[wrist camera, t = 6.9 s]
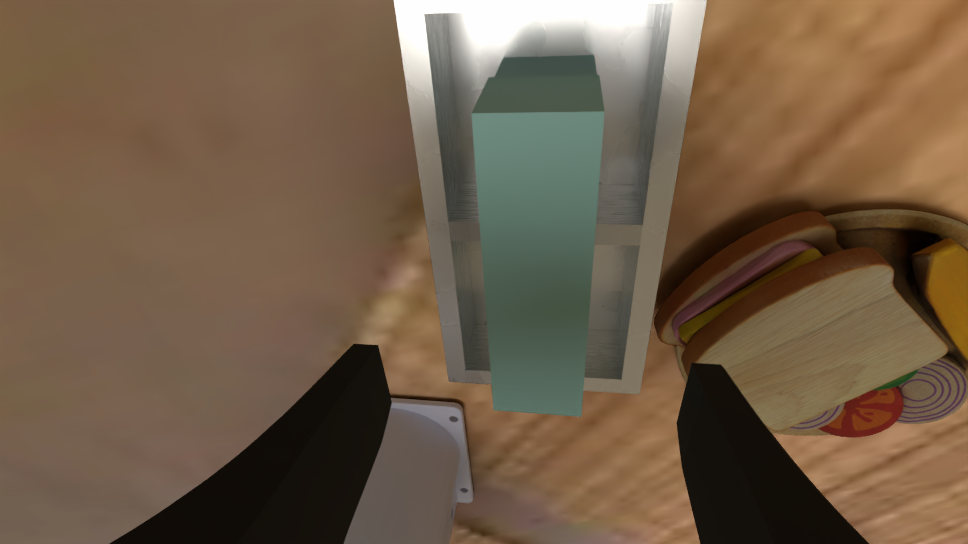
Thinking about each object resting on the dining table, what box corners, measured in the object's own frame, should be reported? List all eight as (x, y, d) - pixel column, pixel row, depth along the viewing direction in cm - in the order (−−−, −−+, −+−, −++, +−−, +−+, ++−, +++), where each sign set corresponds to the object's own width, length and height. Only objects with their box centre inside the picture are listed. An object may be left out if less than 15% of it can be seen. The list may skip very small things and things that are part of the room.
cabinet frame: (631, 336, 24) (639, 394, 21) (462, 328, 25) (448, 381, 23) (687, -48, 15) (712, -36, 12) (422, -33, 16) (390, -18, 14)
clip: (579, 297, 23) (581, 416, 17) (511, 294, 23) (493, 410, 18) (595, 45, 17) (604, 111, 11) (502, 48, 17) (471, 113, 12)
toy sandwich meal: (750, 445, 28) (778, 531, 24) (606, 283, 23) (613, 359, 19) (1038, 350, 22) (1137, 445, 18) (927, 104, 17) (1029, 163, 13)
